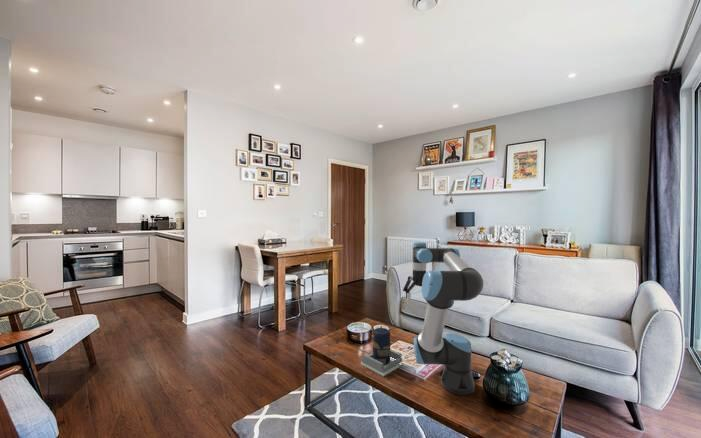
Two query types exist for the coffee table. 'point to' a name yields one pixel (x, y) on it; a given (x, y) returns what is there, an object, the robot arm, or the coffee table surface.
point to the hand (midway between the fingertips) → (418, 306)
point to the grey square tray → (378, 366)
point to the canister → (381, 345)
